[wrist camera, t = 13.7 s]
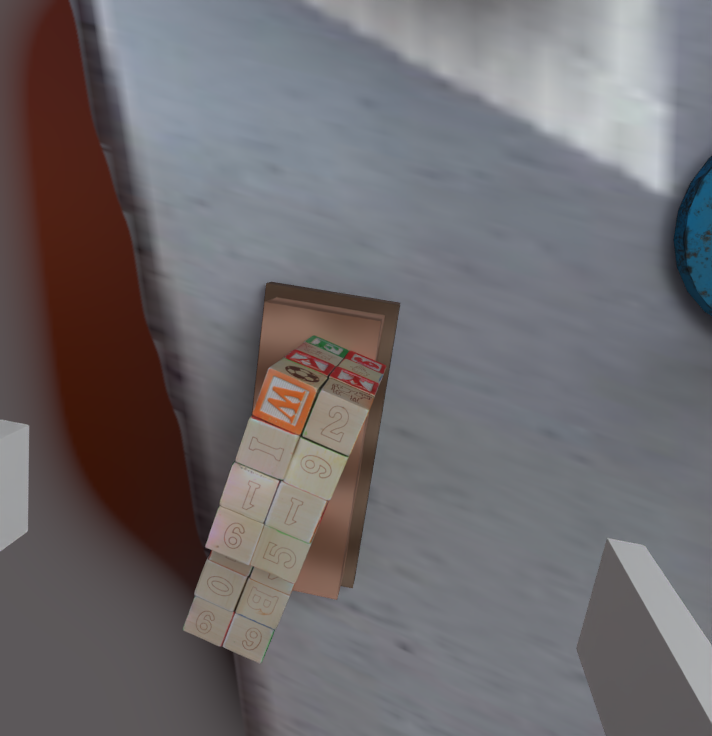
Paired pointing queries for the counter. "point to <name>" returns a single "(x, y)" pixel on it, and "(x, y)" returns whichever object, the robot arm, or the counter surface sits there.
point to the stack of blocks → (280, 491)
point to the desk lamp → (696, 238)
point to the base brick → (349, 501)
